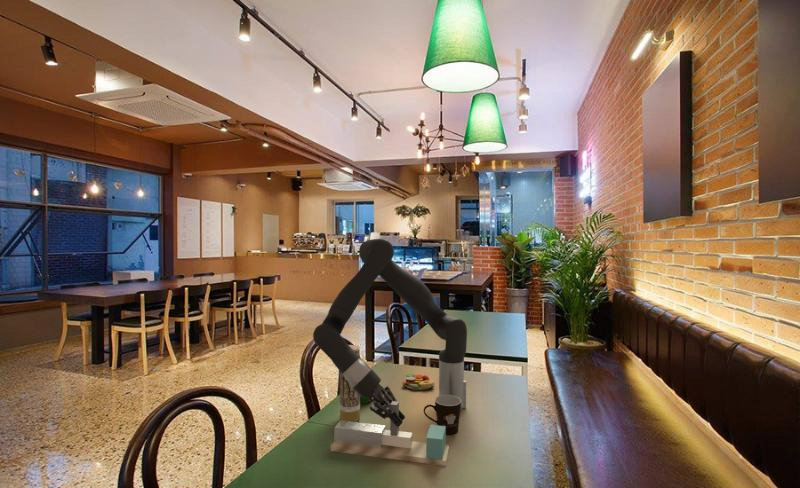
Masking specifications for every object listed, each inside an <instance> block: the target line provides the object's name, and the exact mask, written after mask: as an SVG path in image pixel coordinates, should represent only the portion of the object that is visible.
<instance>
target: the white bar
mask: <svg viewBox="0 0 800 488" xmlns="http://www.w3.org/2000/svg"><path fill="white" fill-rule="evenodd" d="M390 407H391V408H392V409H393V411H394V412H395V413H396V414H397V415H398V416H399V410H400V401H398V400H397V401H392V402H391V404H390ZM389 420H390V421H389V422H390V424H389V425H390V427H389V428H390V429H385V430H384V431H383V432H382V445H388V446H396V447H404V448H411V445H412V441H413V432H409V431H401V430H400V426H399V427H397V426H396V425H395V424H394V423H393V422H392V421H391V419H390V418H389Z"/></svg>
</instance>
